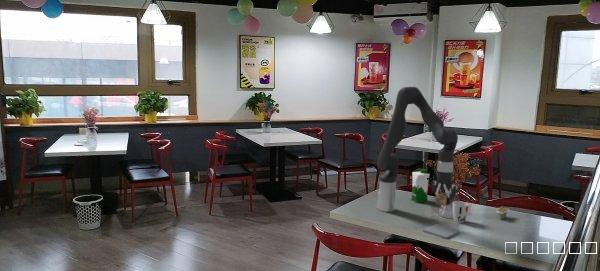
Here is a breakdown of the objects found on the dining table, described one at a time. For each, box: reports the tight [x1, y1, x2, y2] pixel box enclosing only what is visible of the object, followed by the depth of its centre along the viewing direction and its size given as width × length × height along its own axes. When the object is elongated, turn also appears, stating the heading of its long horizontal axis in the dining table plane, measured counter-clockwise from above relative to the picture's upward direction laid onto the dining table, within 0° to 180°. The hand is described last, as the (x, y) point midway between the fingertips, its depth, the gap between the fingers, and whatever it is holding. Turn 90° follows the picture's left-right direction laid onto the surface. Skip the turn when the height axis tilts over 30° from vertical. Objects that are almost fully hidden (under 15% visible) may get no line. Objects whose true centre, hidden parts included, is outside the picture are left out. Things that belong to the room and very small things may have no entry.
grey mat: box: [422, 223, 461, 240], centre depth 219 cm, size 13×13×1 cm
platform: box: [496, 205, 510, 221], centre depth 241 cm, size 12×18×7 cm, turn 134°
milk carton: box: [411, 168, 430, 204], centre depth 270 cm, size 9×9×20 cm
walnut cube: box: [435, 191, 448, 207], centre depth 217 cm, size 5×5×5 cm
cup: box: [452, 201, 470, 224], centre depth 235 cm, size 8×8×10 cm
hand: (443, 203), depth 217 cm, fingers closed on walnut cube, 5 cm apart
